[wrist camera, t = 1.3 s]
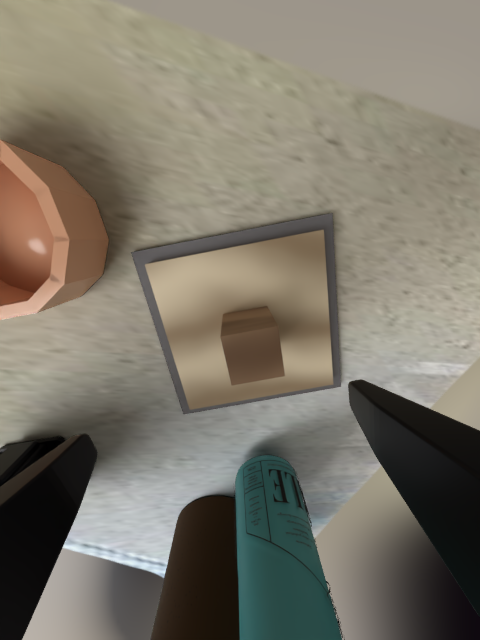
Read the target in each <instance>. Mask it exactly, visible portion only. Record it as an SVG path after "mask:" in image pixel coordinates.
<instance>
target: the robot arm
mask: <svg viewBox="0 0 480 640" xmlns="http://www.w3.org/2000/svg"><path fill="white" fill-rule="evenodd" d="M348 388H349V402H350V406H351V409H352V411H353V413H354V415H355V417H356V419H357V421H358V423H359V425H360V427H361V429H362V431H363V433H364V435H365V436H366V438H367V440H368V442H369V444H370V446H371V448H372V450H373V452H374V454H375V455H376V457H377V459H378V460H379V462H380V464H381V465H382V467H383V468H384V469H385V471H386V473H387V474H388V476H389V477H390V479H391V480H392V482H393V484H394V485H395V487H396V488H397V490H398V491H399V493H400V494H401V496H402V498H403V499H404V500H405V502H406V504H407V505H408V506H409V508H410V510H411V511H412V513H413V515H414V516H415V518H416V519H417V520H418V522H419V524H420V525H421V527H422V528H423V530H424V532H425V533H426V535H427V536H428V538H429V539H430V541H431V542H432V544H433V546H434V547H435V549H436V550H437V552H438V553H439V555H440V556H441V558H442V559H443V561H444V563H445V564H446V566H447V567H448V569H449V570H450V572H451V573H452V575H453V576H454V578H455V579H456V581H457V582H458V584H459V586H460V587H461V589H462V590H463V592H464V593H465V595H466V597H467V598H468V600H469V601H470V603H471V604H472V606H473V607H474V609H475V610H476V612H477V613H478V615H479V616H480V431H479V430H477V429H475V428H472V427H470V426H468V425H466V424H463V423H461V422H458V421H456V420H454V419H452V418H449V417H447V416H445V415H443V414H440V413H438V412H436V411H433V410H431V409H429V408H426V407H424V406H422V405H420V404H417V403H415V402H413V401H410V400H408V399H406V398H403V397H401V396H399V395H397V394H394V393H392V392H390V391H387V390H385V389H383V388H381V387H378V386H376V385H374V384H371V383H369V382H367V381H364V380H355V381H351V382H349V385H348ZM96 460H97V450H96V448H95V446H94V444H93V442H92V441H91V439H90V437H89V435H87V434H79V435H75V436H72V437H71V438H69V439H68V440H66V441H65V440H64V439H63V438H62V437H53V438H47V439H42V440H36V441H30V442H25V443H19V444H13V445H8V446H3V447H1V448H0V640H22V638H23V636H24V634H25V632H26V629H27V627H28V625H29V622H30V620H31V618H32V615H33V613H34V611H35V609H36V607H37V604H38V602H39V600H40V597H41V595H42V593H43V590H44V588H45V586H46V583H47V581H48V579H49V577H50V575H51V572H52V570H53V568H54V565H55V563H56V561H57V559H58V556H59V554H60V552H61V550H62V547H63V545H64V543H65V540H66V538H67V536H68V534H69V531H70V529H71V527H72V525H73V522H74V520H75V518H76V515H77V513H78V510H79V508H80V505H81V503H82V500H83V497H84V494H85V491H86V488H87V486H88V483H89V480H90V477H91V474H92V471H93V468H94V465H95V463H96Z"/></svg>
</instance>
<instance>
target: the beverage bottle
mask: <svg viewBox="0 0 480 640" xmlns="http://www.w3.org/2000/svg"><path fill="white" fill-rule="evenodd" d="M295 472H296V471H294V469H293V468H292V466H291V465H290V464H289V463H288V462H287V461H286V460H284V459H282V458H280V457H277V456H272V455H263V456H258V457H255V458H252V459H250V460H248V461H247V462H245V463H244V464H243V465H242V466H241V467H240V469H239V470H238V473H237V477H236V481H235V491H236V493H235V494H236V514H235V515H236V519H235V520H236V523H234V524H236V529H237V548H236V549H237V566H238V576H237V577H238V585H239V631H240V640H342V638H341V634H342V632H341V634H340V630H341V629H340V630H339V628H340V627H339V626H338V625H340V624H339V621H337V619H336V612H334V609H335V608H333V607H334V606H333V604H332V601H331V600H332V599H331V596H330V594H329V593H330V589H329V590H328V587H327V583H328V582H327V581H326V580H325V576H324V573H323V569H322V565H321V562H320V558H319V555H318V551H317V547H316V545H315V541H314V537H313V534H312V530H311V526H312V525H311V526H310V523H311V521H310V523H309V520H310V519H308V518H309V517H308V515H309V513H308V514H307V512H308V510H307V506H306V504H305V503H306V502H305V500H304V496H303V492H302V491H301V489H302V488H300V485H299V481H298V480H297V477H296V476H297V475H296V473H295ZM235 491H234V492H235ZM301 494H302V495H301ZM234 496H235V495H234ZM302 497H303V498H302ZM303 500H304V502H303ZM234 501H235V500H234ZM304 504H305V505H304ZM234 507H235V502H234ZM234 510H235V509H234ZM234 512H235V511H234ZM235 515H234V516H235ZM235 536H236V535H235ZM235 543H236V542H235ZM235 554H236V553H235ZM235 565H236V564H235ZM236 572H237V571H236ZM328 584H329V583H328ZM335 611H336V610H335Z"/></svg>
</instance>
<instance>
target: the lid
mask: <svg viewBox="0 0 480 640" xmlns="http://www.w3.org/2000/svg"><path fill="white" fill-rule="evenodd" d="M145 267H146V271H147V274H148V277H149V280H150V283H151V287H152V290H153V293H154V296H155V299H156V303H157V306H158V309H159V312H160V315H161V319H162V322H163V325H164V328H165V332H166V335H167V338H168V341H169V344H170V348H171V351H172V354H173V357H174V360H175V364H176V367H177V370H178V373H179V376H180V380H181V383H182V386H183V389H184V393H185V396H186V399H187V402H188V405H189V409H190V410H191V409H197V408H203V407H208V406H214V405H220V404H225V403H231V402H237V401H242V400H248V399H254V398H259V397H265V396H271V395H276V394H282V393H288V392H293V391H299V390H305V389H310V388H316V387H321V386H327V385H333V370H332V354H331V338H330V322H329V305H328V289H327V273H326V257H325V241H324V230H318V231H313V232H307V233H302V234H297V235H292V236H287V237H282V238H277V239H271V240H266V241H261V242H256V243H251V244H246V245H241V246H235V247H230V248H225V249H220V250H215V251H210V252H205V253H199V254H194V255H189V256H184V257H179V258H174V259H169V260H163V261H158V262H153V263H148V264H145Z"/></svg>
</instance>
